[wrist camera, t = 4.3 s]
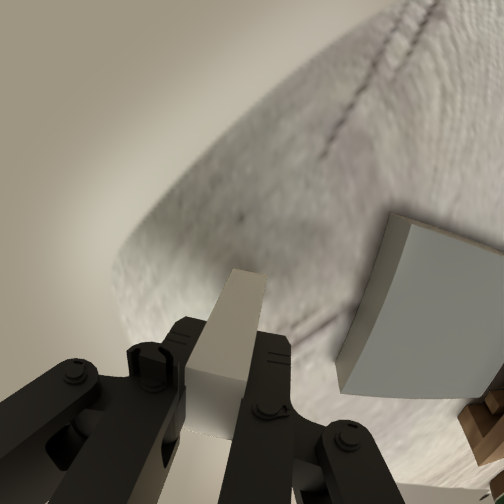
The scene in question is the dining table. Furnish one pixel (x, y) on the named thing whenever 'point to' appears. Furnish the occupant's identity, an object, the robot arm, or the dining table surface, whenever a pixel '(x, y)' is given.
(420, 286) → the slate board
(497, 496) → the beer bottle
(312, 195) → the dining table surface
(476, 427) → the walnut arch bridge
